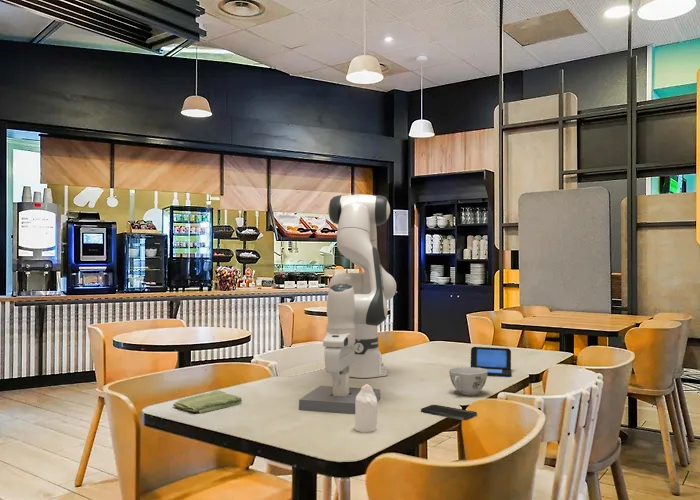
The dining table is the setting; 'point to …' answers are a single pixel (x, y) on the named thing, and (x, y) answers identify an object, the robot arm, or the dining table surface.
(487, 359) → the handheld game console
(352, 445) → the dining table surface
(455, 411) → the phone
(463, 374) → the teacup
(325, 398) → the grey socket board
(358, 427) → the white bottle
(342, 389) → the charger plug
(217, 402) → the washcloth
